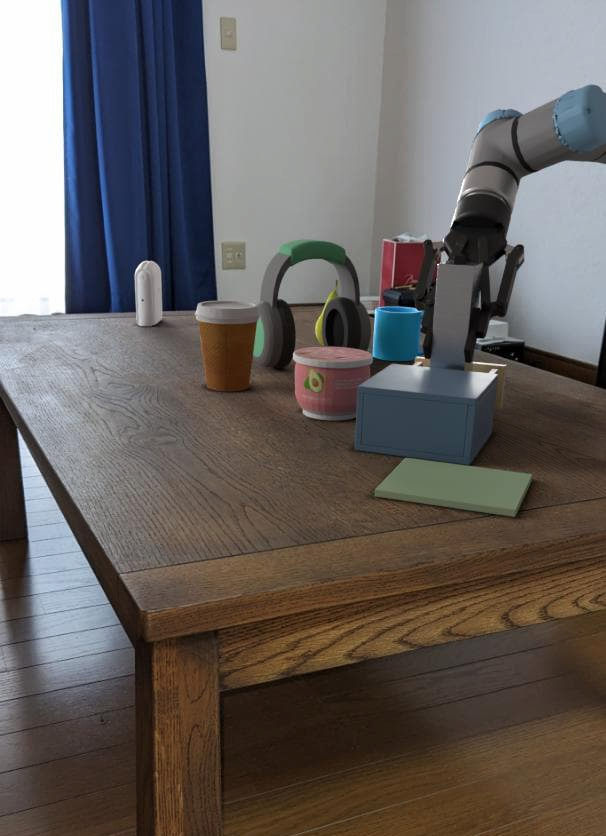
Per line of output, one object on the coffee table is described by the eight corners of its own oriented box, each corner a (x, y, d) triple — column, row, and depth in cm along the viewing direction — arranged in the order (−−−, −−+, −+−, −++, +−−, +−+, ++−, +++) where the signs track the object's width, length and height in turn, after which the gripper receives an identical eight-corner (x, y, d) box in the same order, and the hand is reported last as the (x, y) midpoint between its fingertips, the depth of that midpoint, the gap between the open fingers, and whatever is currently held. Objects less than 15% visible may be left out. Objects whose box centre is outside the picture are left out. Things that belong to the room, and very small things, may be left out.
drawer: (420, 391, 130) (424, 351, 128) (506, 400, 126) (511, 359, 124) (388, 419, 115) (391, 374, 113) (484, 430, 111) (489, 384, 109)
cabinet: (388, 421, 118) (391, 363, 115) (491, 433, 113) (498, 374, 110) (354, 450, 105) (357, 386, 102) (469, 465, 101) (476, 398, 98)
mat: (531, 481, 96) (532, 474, 96) (515, 517, 86) (516, 509, 85) (404, 464, 100) (405, 457, 100) (374, 496, 90) (374, 489, 90)
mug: (370, 359, 157) (372, 311, 154) (375, 351, 164) (377, 305, 161) (439, 363, 155) (443, 315, 152) (441, 355, 162) (445, 309, 159)
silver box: (469, 401, 121) (483, 253, 113) (460, 411, 115) (475, 257, 108) (436, 397, 122) (448, 251, 115) (426, 407, 117) (438, 255, 110)
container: (280, 406, 123) (281, 348, 120) (349, 401, 127) (352, 344, 124) (309, 425, 114) (311, 363, 111) (383, 420, 118) (386, 359, 115)
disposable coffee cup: (217, 377, 140) (216, 298, 135) (271, 384, 136) (272, 303, 131) (183, 389, 132) (181, 305, 127) (239, 397, 128) (239, 311, 123)
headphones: (268, 375, 142) (269, 242, 135) (243, 362, 151) (244, 237, 144) (373, 368, 150) (380, 242, 142) (344, 356, 159) (349, 237, 151)
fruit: (317, 350, 163) (319, 282, 158) (312, 345, 168) (314, 278, 164) (348, 350, 164) (351, 283, 159) (342, 345, 169) (345, 279, 164)
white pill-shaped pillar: (155, 326, 183) (153, 263, 178) (134, 326, 183) (131, 263, 178) (164, 319, 192) (162, 259, 187) (144, 318, 192) (142, 258, 187)
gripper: (549, 234, 121) (518, 378, 113) (423, 228, 127) (384, 365, 119) (550, 192, 115) (516, 342, 107) (416, 188, 120) (375, 330, 112)
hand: (446, 354), depth 113 cm, fingers closed on silver box, 4 cm apart
